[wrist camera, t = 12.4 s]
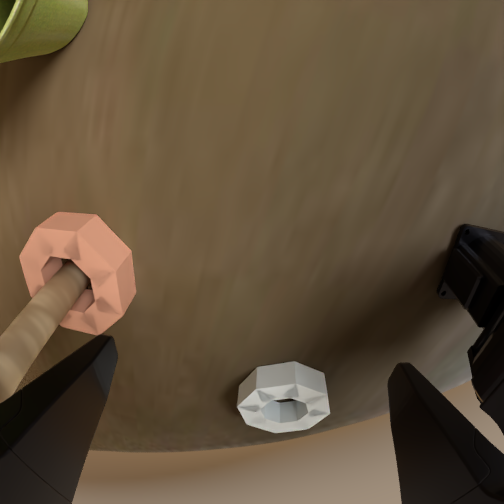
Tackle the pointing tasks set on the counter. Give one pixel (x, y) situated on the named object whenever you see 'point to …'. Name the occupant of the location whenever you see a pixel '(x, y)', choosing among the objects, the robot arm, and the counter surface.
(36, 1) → the plant pot
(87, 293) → the bead ring
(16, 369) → the dowel
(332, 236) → the counter surface
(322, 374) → the bead
